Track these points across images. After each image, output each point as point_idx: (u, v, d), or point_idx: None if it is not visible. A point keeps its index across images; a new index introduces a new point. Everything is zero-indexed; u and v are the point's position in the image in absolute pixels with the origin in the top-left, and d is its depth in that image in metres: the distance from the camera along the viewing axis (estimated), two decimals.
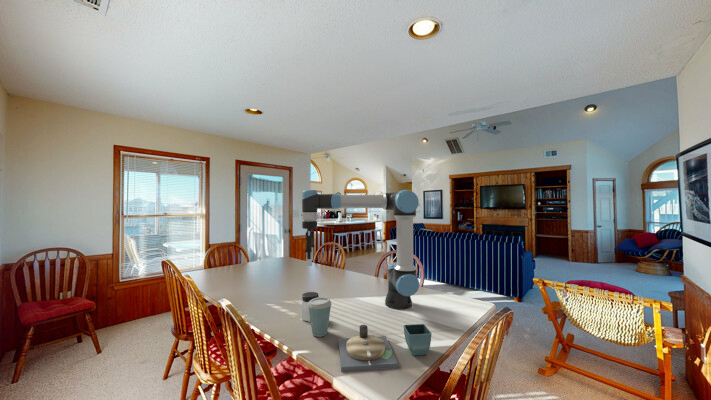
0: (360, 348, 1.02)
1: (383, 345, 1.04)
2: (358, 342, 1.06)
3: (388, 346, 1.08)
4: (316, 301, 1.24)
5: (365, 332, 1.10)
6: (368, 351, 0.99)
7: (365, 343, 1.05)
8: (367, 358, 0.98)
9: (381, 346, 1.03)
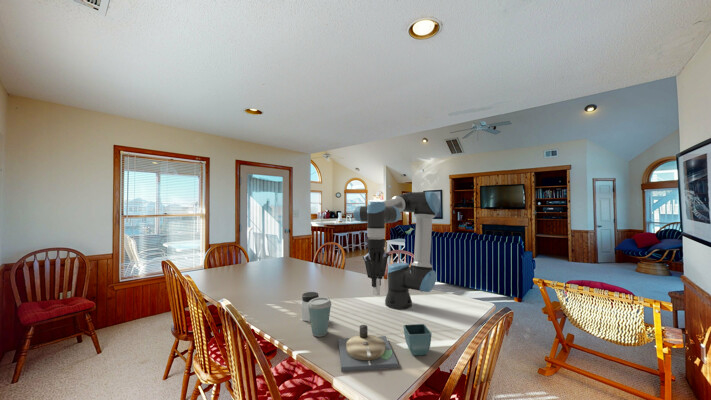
0: (360, 348, 1.02)
1: (383, 345, 1.04)
2: (358, 342, 1.06)
3: (388, 346, 1.08)
4: (316, 301, 1.23)
5: (365, 332, 1.10)
6: (368, 351, 0.99)
7: (365, 343, 1.05)
8: (367, 358, 0.98)
9: (381, 346, 1.03)
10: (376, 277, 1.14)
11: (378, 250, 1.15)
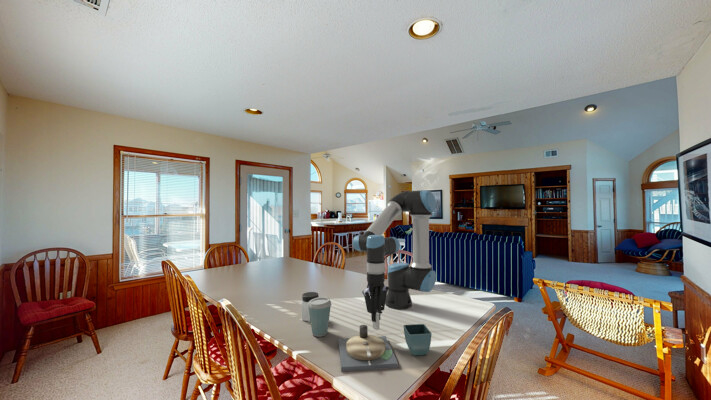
0: (360, 348, 1.02)
1: (383, 345, 1.04)
2: (358, 342, 1.06)
3: (388, 346, 1.08)
4: (316, 301, 1.24)
5: (365, 332, 1.10)
6: (368, 351, 0.99)
7: (365, 343, 1.05)
8: (367, 358, 0.98)
9: (381, 346, 1.03)
10: (376, 312, 1.14)
11: (378, 284, 1.15)
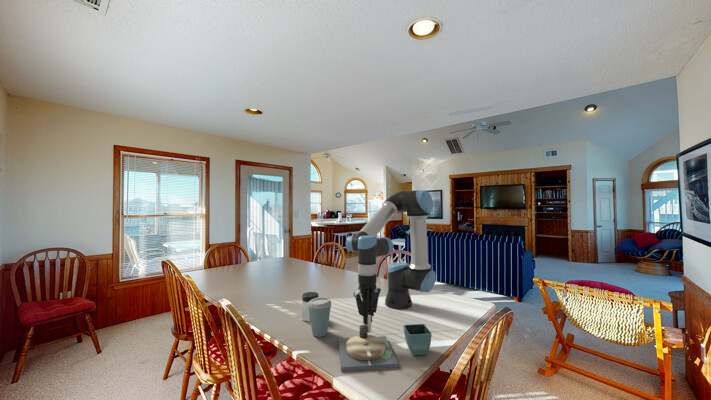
0: (360, 348, 1.02)
1: (383, 345, 1.04)
2: (358, 342, 1.06)
3: (388, 346, 1.08)
4: (316, 301, 1.24)
5: (365, 332, 1.10)
6: (368, 351, 0.99)
7: (365, 343, 1.05)
8: (367, 358, 0.98)
9: (381, 346, 1.03)
10: (367, 314, 1.11)
11: (369, 286, 1.12)
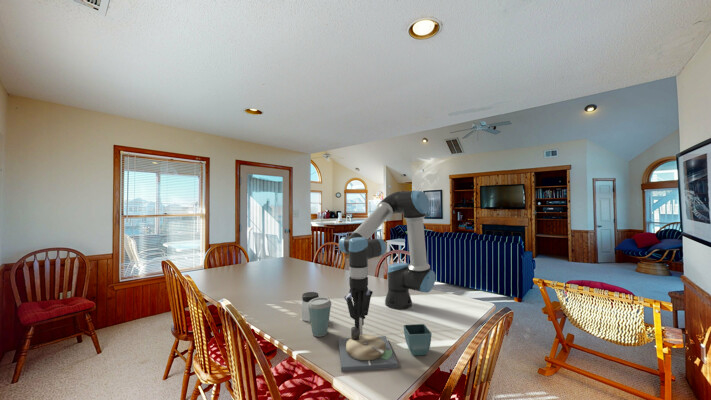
0: (366, 348, 1.02)
1: (380, 340, 1.08)
2: (358, 345, 1.04)
3: (388, 346, 1.08)
4: (316, 301, 1.23)
5: (358, 333, 1.09)
6: (378, 349, 1.01)
7: (366, 343, 1.05)
8: (379, 355, 1.00)
9: (380, 341, 1.07)
10: (359, 317, 1.10)
11: (361, 289, 1.10)
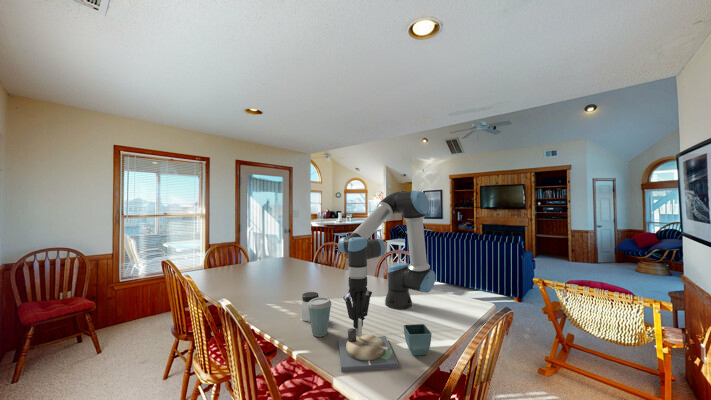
0: (369, 348, 1.02)
1: (377, 337, 1.10)
2: (359, 346, 1.04)
3: (388, 346, 1.08)
4: (316, 301, 1.23)
5: (355, 334, 1.08)
6: (381, 346, 1.02)
7: (366, 343, 1.05)
8: (383, 353, 1.01)
9: (378, 339, 1.09)
10: (358, 318, 1.08)
11: (360, 289, 1.09)
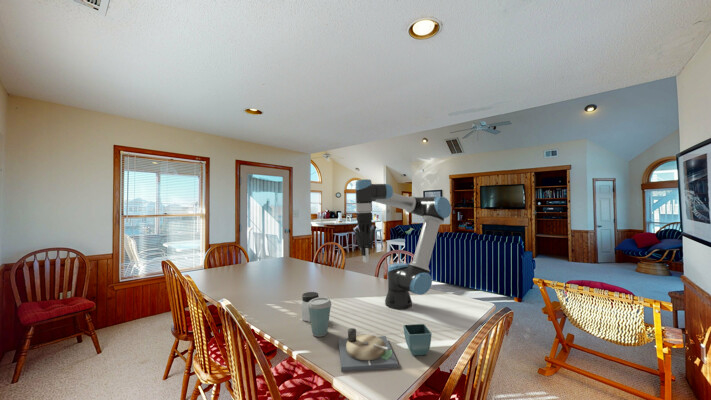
0: (369, 348, 1.02)
1: (377, 337, 1.10)
2: (359, 346, 1.04)
3: (388, 346, 1.08)
4: (316, 301, 1.23)
5: (355, 334, 1.08)
6: (381, 346, 1.02)
7: (366, 343, 1.05)
8: (383, 353, 1.01)
9: (378, 339, 1.09)
10: (365, 247, 1.28)
11: (366, 223, 1.29)
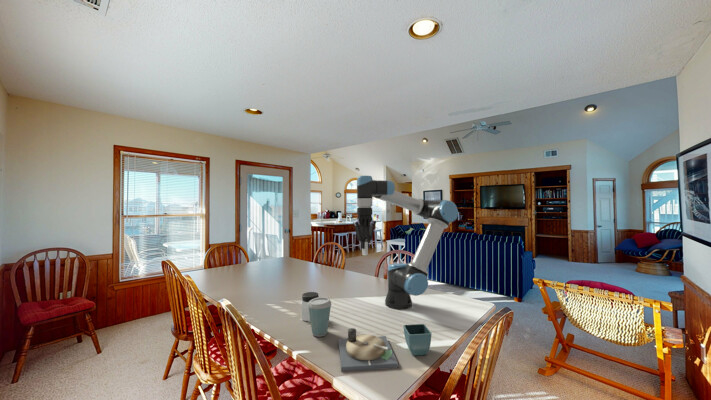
0: (369, 348, 1.02)
1: (377, 337, 1.10)
2: (359, 346, 1.04)
3: (388, 346, 1.08)
4: (316, 301, 1.23)
5: (355, 334, 1.08)
6: (381, 346, 1.02)
7: (366, 343, 1.05)
8: (383, 353, 1.01)
9: (378, 339, 1.09)
10: (364, 240, 1.34)
11: (366, 217, 1.35)
